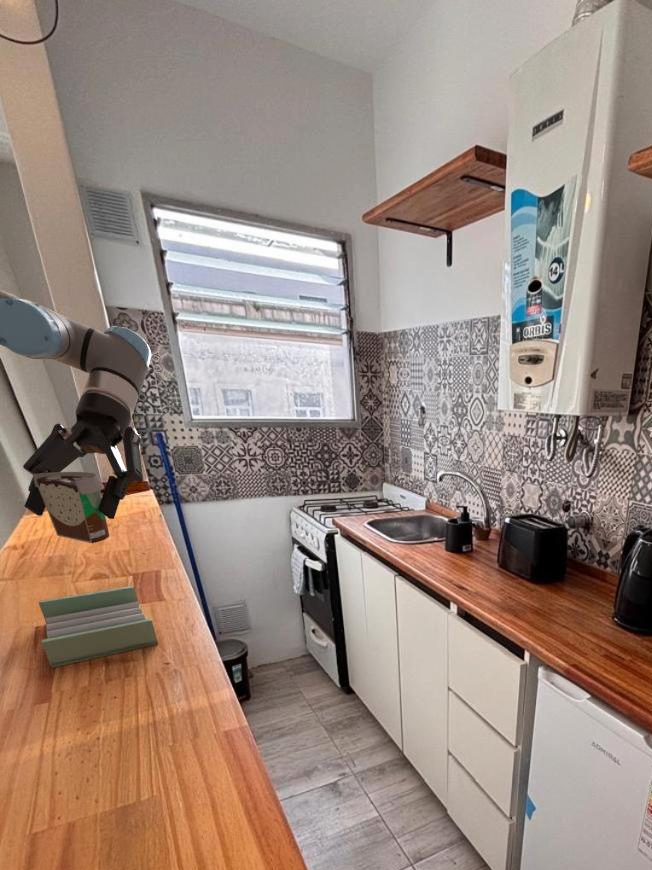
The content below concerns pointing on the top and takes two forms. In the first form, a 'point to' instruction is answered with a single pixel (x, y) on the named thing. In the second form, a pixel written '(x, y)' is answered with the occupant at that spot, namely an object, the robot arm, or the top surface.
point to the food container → (74, 504)
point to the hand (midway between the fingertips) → (69, 512)
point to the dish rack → (95, 625)
